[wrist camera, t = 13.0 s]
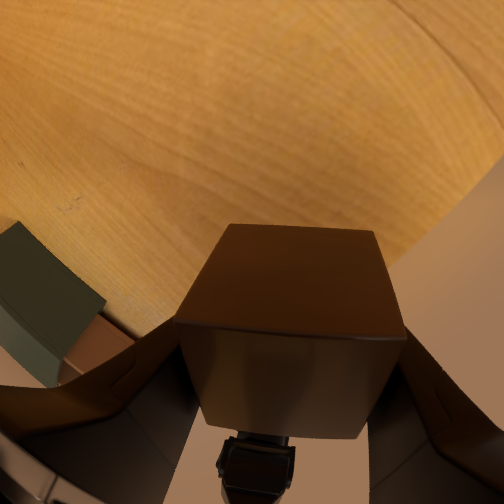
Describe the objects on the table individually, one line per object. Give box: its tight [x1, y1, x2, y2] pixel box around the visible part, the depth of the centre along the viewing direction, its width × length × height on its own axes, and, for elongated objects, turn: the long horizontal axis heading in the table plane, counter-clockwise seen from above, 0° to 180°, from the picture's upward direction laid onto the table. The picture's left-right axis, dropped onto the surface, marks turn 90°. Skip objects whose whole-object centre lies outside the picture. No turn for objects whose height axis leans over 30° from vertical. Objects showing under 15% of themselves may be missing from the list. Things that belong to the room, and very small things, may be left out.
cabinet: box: [0, 221, 106, 388], centre depth 27 cm, size 15×13×9 cm
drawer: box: [57, 314, 135, 386], centre depth 29 cm, size 18×11×7 cm, turn 52°
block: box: [173, 224, 407, 439], centre depth 8 cm, size 4×4×4 cm
